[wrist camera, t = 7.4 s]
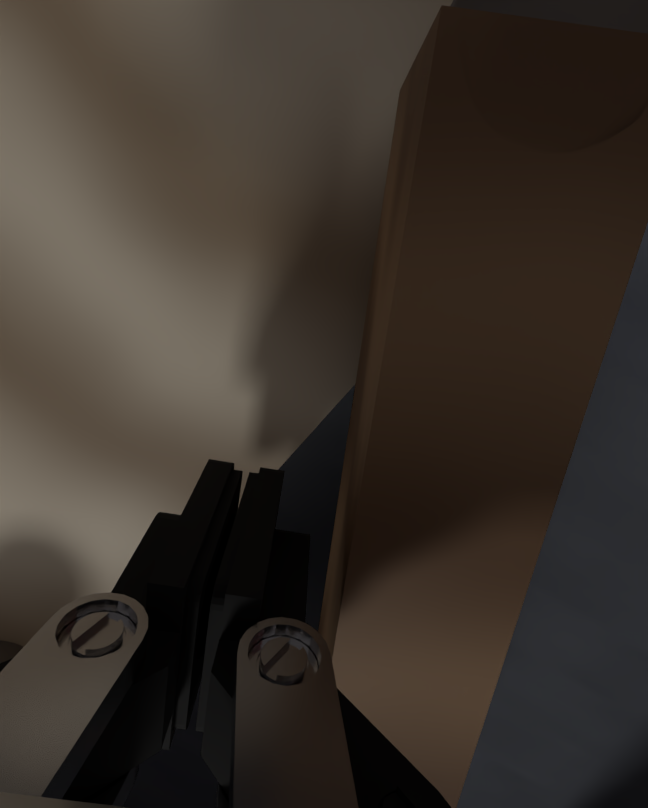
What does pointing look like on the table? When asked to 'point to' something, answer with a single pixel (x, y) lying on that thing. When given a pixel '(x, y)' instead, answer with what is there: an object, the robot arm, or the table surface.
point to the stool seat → (176, 257)
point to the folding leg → (480, 351)
